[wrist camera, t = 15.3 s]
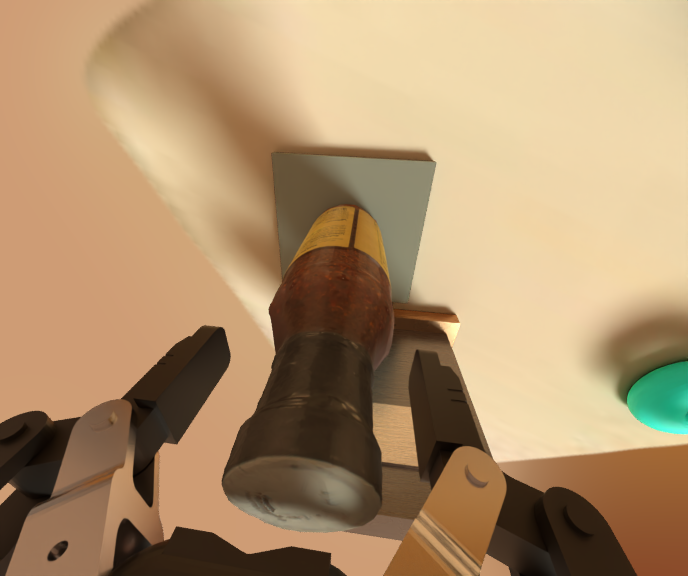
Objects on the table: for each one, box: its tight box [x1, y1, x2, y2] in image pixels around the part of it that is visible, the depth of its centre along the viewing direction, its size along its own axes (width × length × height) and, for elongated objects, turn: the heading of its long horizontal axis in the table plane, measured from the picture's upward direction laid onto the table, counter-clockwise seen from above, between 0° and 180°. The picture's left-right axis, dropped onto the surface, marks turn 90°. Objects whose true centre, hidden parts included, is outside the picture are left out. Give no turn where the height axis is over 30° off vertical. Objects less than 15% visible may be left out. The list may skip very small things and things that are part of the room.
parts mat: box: [271, 152, 436, 303], centre depth 24 cm, size 13×13×1 cm
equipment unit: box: [344, 309, 493, 541], centre depth 22 cm, size 14×6×18 cm, turn 87°
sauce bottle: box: [222, 204, 394, 533], centre depth 15 cm, size 6×6×20 cm
